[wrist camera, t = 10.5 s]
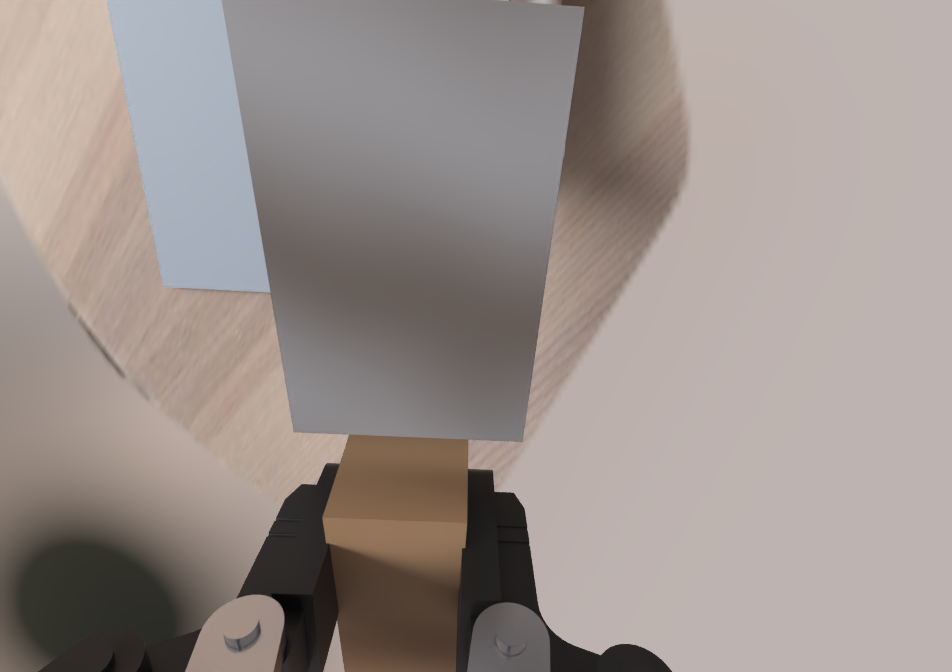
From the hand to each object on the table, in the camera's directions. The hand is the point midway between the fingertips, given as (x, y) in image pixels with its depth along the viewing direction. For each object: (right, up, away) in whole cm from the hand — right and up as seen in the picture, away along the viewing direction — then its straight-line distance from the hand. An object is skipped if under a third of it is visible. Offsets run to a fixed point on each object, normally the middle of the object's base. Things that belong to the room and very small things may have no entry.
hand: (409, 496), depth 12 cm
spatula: (0, +2, -1) cm, 2 cm away
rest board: (-11, +15, +11) cm, 21 cm away
